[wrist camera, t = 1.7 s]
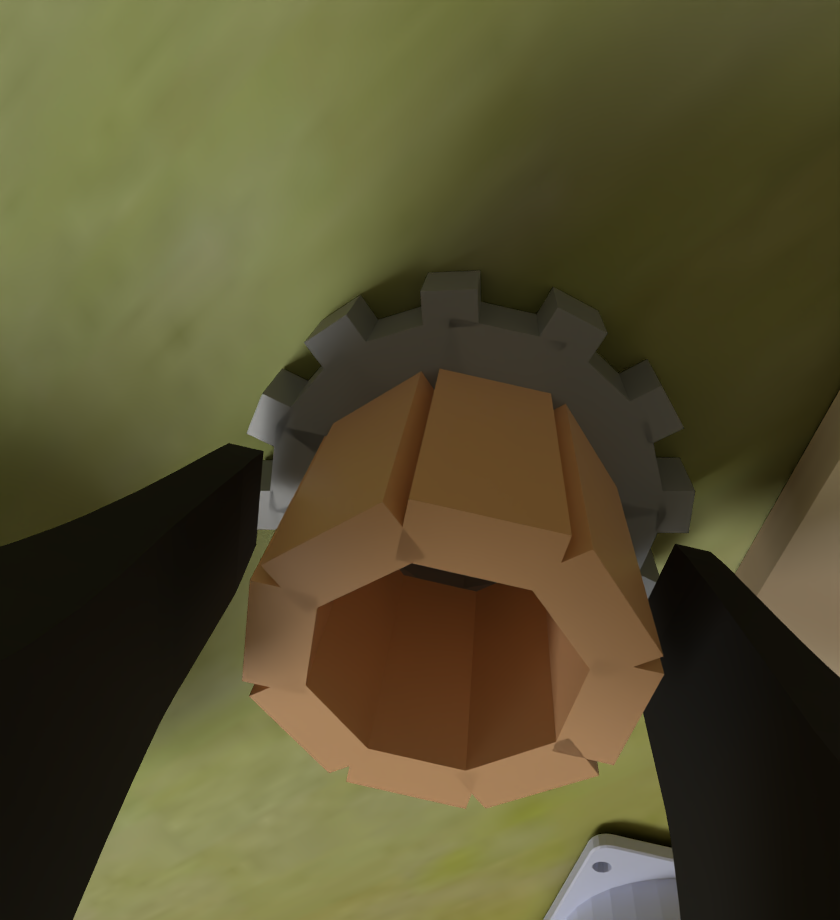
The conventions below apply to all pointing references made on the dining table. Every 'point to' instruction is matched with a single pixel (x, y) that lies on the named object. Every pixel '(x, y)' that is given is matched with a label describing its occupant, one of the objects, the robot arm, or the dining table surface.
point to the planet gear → (461, 546)
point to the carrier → (804, 547)
